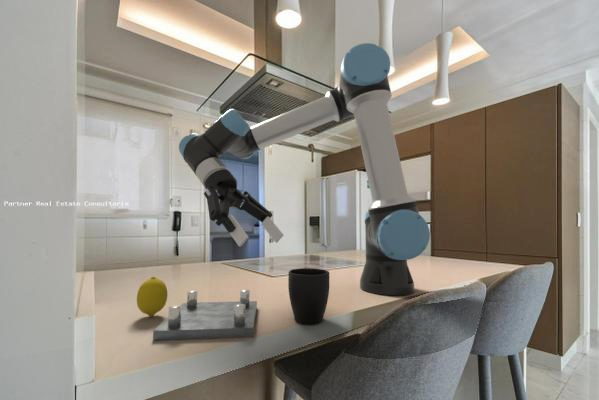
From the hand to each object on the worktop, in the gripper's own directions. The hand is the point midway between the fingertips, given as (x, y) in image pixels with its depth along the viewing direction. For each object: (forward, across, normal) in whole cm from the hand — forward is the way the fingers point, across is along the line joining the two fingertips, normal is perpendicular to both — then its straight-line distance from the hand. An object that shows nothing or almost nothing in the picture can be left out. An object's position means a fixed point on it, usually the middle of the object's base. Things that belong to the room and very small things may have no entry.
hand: (263, 240), depth 63 cm
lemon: (-1, +15, -22) cm, 27 cm away
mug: (+18, 0, -3) cm, 19 cm away
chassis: (+8, +11, -13) cm, 19 cm away
